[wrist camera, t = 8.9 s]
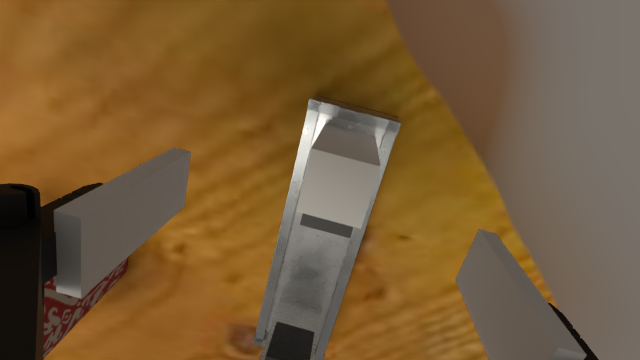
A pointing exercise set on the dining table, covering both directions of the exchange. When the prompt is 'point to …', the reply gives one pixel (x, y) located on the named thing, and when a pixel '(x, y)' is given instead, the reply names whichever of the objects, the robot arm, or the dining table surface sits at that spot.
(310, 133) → the rail
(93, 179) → the dining table surface
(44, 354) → the mug
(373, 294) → the dining table surface
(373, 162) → the small grey block
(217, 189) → the dining table surface
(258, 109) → the dining table surface
